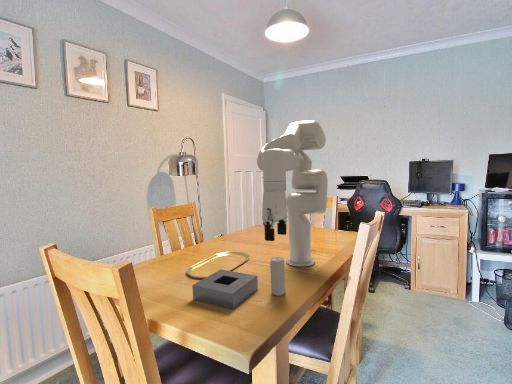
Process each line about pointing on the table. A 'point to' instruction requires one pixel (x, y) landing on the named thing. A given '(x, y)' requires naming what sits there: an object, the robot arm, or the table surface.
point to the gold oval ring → (214, 258)
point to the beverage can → (277, 276)
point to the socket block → (225, 288)
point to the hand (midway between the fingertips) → (276, 237)
